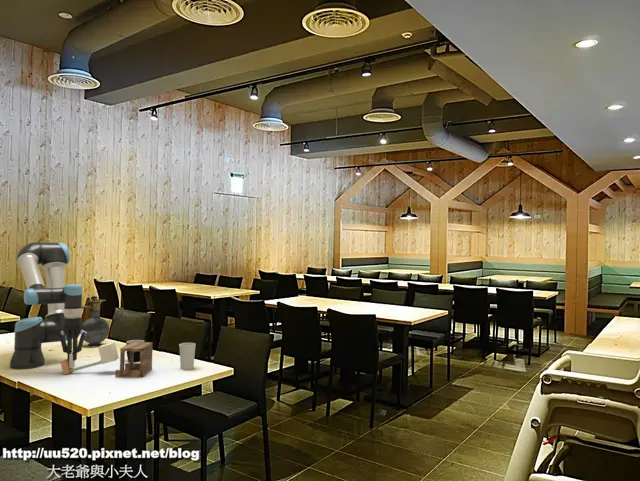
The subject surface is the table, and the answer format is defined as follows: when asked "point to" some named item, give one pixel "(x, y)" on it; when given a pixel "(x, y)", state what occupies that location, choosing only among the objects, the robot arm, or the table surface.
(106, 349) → the mismatched dumbbell
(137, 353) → the mug
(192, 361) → the cup
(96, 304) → the pitcher
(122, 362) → the cubby
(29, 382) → the table surface
